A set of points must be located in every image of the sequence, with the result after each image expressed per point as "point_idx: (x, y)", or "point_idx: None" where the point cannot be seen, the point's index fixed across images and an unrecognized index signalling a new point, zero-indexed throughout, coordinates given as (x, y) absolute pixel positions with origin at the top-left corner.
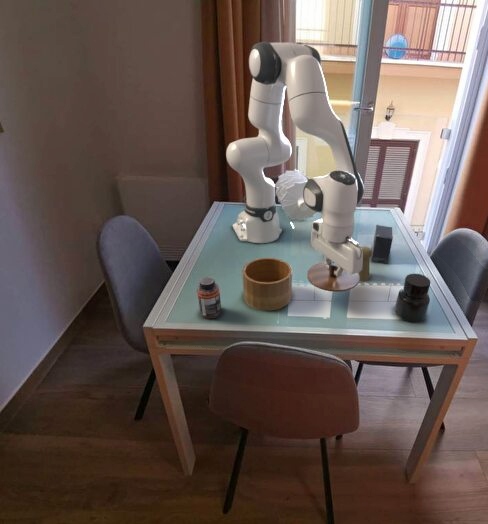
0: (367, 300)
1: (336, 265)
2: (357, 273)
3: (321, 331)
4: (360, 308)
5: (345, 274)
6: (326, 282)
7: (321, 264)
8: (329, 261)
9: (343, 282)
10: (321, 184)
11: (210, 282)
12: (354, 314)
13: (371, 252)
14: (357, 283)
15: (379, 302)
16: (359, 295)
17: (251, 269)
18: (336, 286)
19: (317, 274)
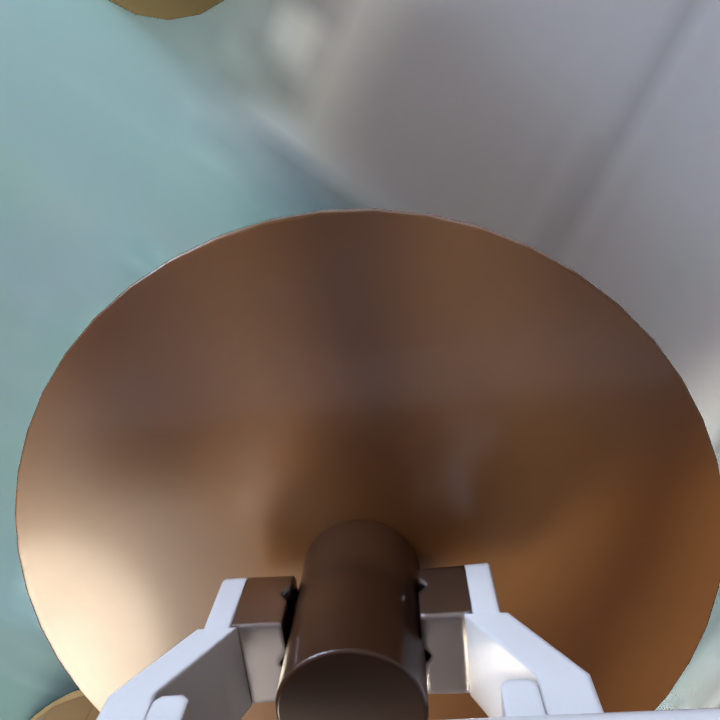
0: (597, 139)
1: (416, 715)
2: (480, 242)
3: (706, 700)
4: (660, 288)
5: (420, 423)
6: (469, 714)
7: (57, 562)
8: (211, 692)
9: (573, 551)
10: None
11: None
12: (696, 389)
13: None
14: (691, 398)
15: (697, 33)
16: (484, 165)
17: None
18: (601, 666)
19: (267, 714)
